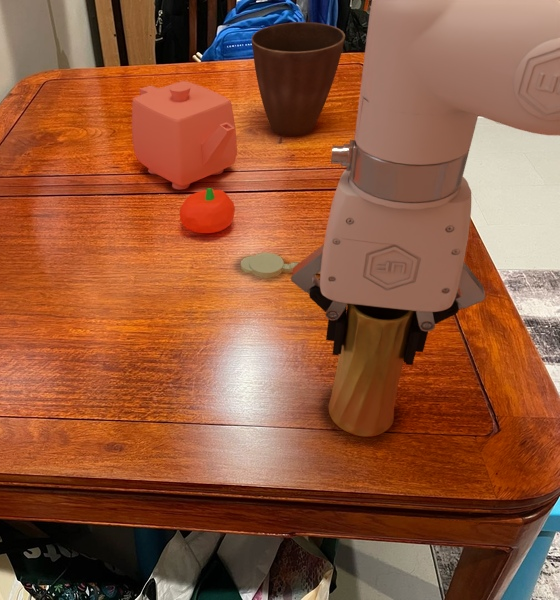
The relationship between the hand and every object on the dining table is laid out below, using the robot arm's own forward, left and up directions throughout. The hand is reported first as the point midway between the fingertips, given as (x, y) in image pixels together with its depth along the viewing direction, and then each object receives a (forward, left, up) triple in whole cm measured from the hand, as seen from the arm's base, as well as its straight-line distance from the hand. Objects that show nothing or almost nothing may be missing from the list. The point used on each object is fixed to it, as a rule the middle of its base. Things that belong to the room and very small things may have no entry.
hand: (372, 347), depth 55 cm
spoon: (+6, -22, -9) cm, 24 cm away
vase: (0, 0, -9) cm, 9 cm away
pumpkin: (+22, -30, -9) cm, 38 cm away
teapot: (+29, -46, -9) cm, 55 cm away
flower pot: (+14, -64, -9) cm, 66 cm away
